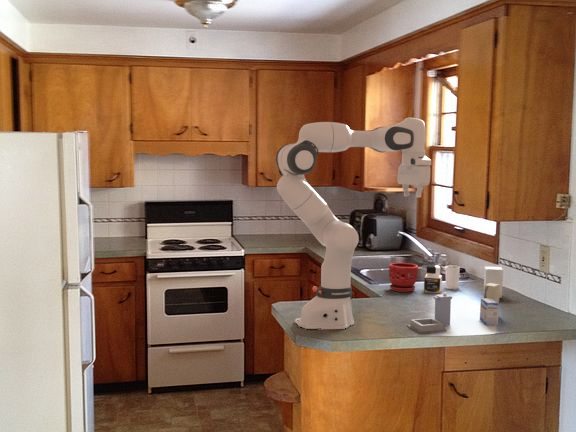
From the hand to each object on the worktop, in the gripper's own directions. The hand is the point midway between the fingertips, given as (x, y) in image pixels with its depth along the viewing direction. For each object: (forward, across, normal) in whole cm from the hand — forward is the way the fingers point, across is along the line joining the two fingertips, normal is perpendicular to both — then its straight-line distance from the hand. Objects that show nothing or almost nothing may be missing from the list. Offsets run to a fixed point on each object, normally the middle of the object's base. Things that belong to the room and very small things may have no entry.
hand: (412, 196), depth 272 cm
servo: (+48, +11, +8) cm, 49 cm away
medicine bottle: (+45, -41, +34) cm, 70 cm away
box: (+47, +7, +32) cm, 57 cm away
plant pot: (+45, -47, +22) cm, 69 cm away
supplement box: (+45, -25, +54) cm, 75 cm away
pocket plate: (+48, +15, 0) cm, 50 cm away
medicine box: (+47, +15, +26) cm, 56 cm away
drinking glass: (+45, -45, +46) cm, 78 cm away
